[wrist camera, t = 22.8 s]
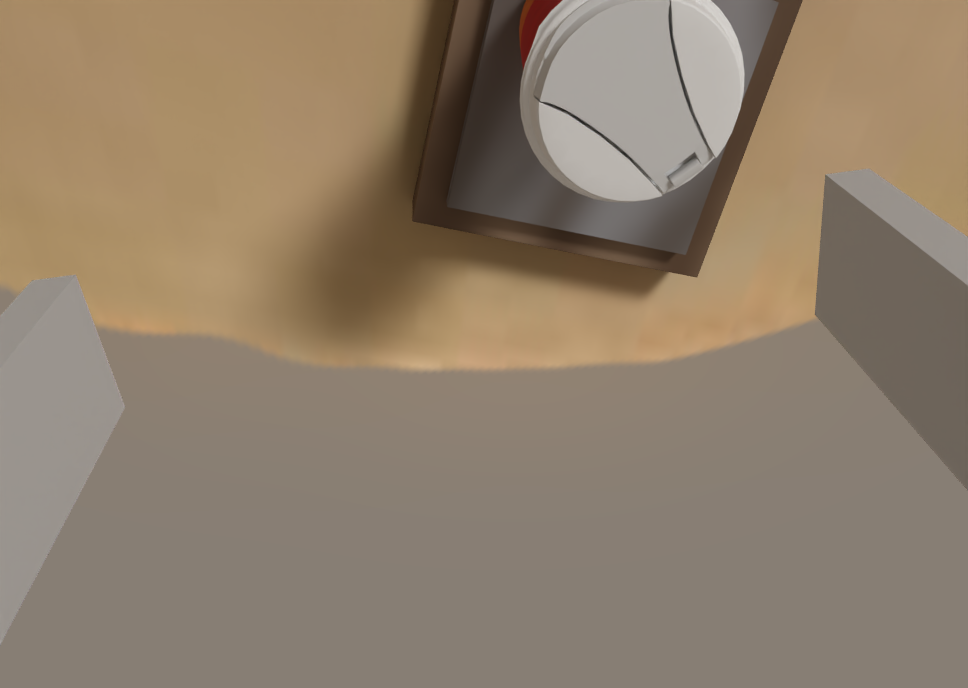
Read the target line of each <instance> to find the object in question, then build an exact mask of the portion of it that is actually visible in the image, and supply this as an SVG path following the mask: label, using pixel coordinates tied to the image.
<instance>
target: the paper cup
mask: <svg viewBox="0 0 968 688" xmlns="http://www.w3.org/2000/svg"><path fill="white" fill-rule="evenodd" d="M519 39H520V50H521V58H522V65H523V75H522V79H521V87H520V110H521V119H522V123H523V127H524V131H525V135H526V137H527V139H528V141H529V144H530V146H531V148H532V150H533V152H534V154H535V155H536V157H537V158H538V160H539V161H540V163H541V164H542V165H543V166H544V168H545V169H546V170H547V171H548V172H549V173H550V174H551V175H552V176H553V177H554V178H555V179H557V180H558V181H559V182H561V183H562V184H563V185H564V186H566V187H568V188H570V189H571V190H573V191H575V192H577V193H579V194H582V195H584V196H587V197H590V198H593V199H597V200H602V201H608V202H636V201H644V200H650V199H654V198H658V197H661V196H662V195H663V194H665V193H667V192H670V191H672V190H674V189H676V188H678V187H680V186H681V185H683V184H685V183H686V182H688V181H690V180H691V179H692V178H693V177H695V176H696V175H697V174H698V173H700V172H701V171H702V170H703V169H704V168H705V167H706V166H707V165H708V164H709V163H710V162H711V161H712V160H713V159H714V158H717V156H718V155H719V154H720V152H721V151H722V149H723V148H724V146H725V145H726V143H727V141H728V139H729V137H730V135H731V133H732V131H733V128H734V126H735V123H736V120H737V117H738V114H739V111H740V108H741V103H742V98H743V93H744V74H745V73H744V64H743V56H742V52H741V49H740V45H739V42H738V38H737V36H736V34H735V32H734V30H733V28H732V26H731V24H730V22H729V21H728V19H727V18H726V17H725V15H724V14H723V13H722V11H721V10H720V8H719V7H718V6H716V5H715V4H714V3H713V2H712V1H711V0H526V2H525V4H524V7H523V9H522V13H521V18H520V26H519Z"/></svg>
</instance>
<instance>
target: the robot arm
mask: <svg viewBox="0 0 968 688" xmlns="http://www.w3.org/2000/svg"><path fill="white" fill-rule="evenodd" d="M815 315H816V316H817V317H818V319H819V320H820V321H821V322H822V323H823V324H824V325H825V327H826V328H827V329H828V330H829V331H830V332H831V334H832V335H833V336H834V337H835V338H836V339H837V340H838V342H839V343H840V344H841V345H842V346H843V347H844V349H845V350H846V351H847V352H848V353H849V354H850V355H851V357H852V358H853V359H854V360H855V361H856V362H857V363H858V365H859V366H860V367H861V368H862V369H863V370H864V372H865V373H866V374H867V375H868V376H869V377H870V378H871V380H872V381H873V382H874V383H875V384H876V385H877V386H878V388H879V389H880V390H881V391H882V392H883V393H884V395H885V396H886V397H887V398H888V399H889V400H890V402H891V403H892V404H893V405H894V406H895V407H896V408H897V410H898V411H899V412H900V413H901V414H902V415H903V416H904V418H905V419H906V420H907V421H908V422H909V423H910V424H911V426H912V427H913V428H914V429H915V430H916V431H917V433H918V434H919V435H920V436H921V437H922V438H923V439H924V441H925V442H926V443H927V444H928V445H929V446H930V448H931V449H932V450H933V451H934V452H935V453H936V454H937V455H938V457H939V458H940V459H941V460H942V461H943V462H944V464H945V465H946V466H947V467H948V468H949V469H950V471H951V472H952V473H953V474H954V475H955V476H956V477H957V479H958V480H959V481H960V482H961V483H962V484H963V485H964V487H965V488H966V489H967V490H968V237H967V236H966V235H964V234H963V233H961V232H960V231H958V230H957V229H955V228H954V227H953V226H951V225H950V224H948V223H947V222H945V221H944V220H942V219H941V218H940V217H938V216H937V215H935V214H934V213H932V212H931V211H929V210H928V209H927V208H925V207H924V206H922V205H921V204H919V203H918V202H916V201H915V200H914V199H912V198H911V197H909V196H908V195H906V194H905V193H903V192H902V191H901V190H899V189H898V188H896V187H895V186H893V185H892V184H890V183H889V182H888V181H886V180H885V179H883V178H882V177H880V176H879V175H877V174H876V173H875V172H873V171H872V170H870V169H863V170H855V171H848V172H840V173H833V174H825V187H824V200H823V213H822V226H821V240H820V253H819V266H818V280H817V293H816V306H815ZM124 408H125V405H124V403H123V400H122V397H121V395H120V392H119V389H118V386H117V384H116V381H115V378H114V376H113V373H112V370H111V368H110V365H109V362H108V360H107V357H106V354H105V352H104V349H103V346H102V344H101V341H100V339H99V336H98V333H97V330H96V328H95V325H94V322H93V320H92V317H91V314H90V312H89V309H88V306H87V304H86V301H85V298H84V295H83V293H82V290H81V287H80V285H79V282H78V279H77V277H76V275H70V276H62V277H55V278H47V279H40V280H32V281H31V282H30V283H29V284H28V285H27V287H26V288H25V289H24V290H23V291H22V292H21V293H20V294H19V295H18V297H17V298H16V299H15V300H14V301H13V302H12V303H11V304H10V306H9V307H8V308H7V309H6V310H5V311H4V312H3V313H2V314H1V315H0V645H1V643H2V641H3V639H4V637H5V635H6V633H7V631H8V629H9V627H10V625H11V624H12V622H13V620H14V618H15V616H16V614H17V612H18V610H19V609H20V607H21V605H22V603H23V601H24V599H25V597H26V595H27V593H28V591H29V589H30V587H31V586H32V584H33V582H34V580H35V578H36V576H37V574H38V572H39V570H40V568H41V566H42V565H43V563H44V561H45V559H46V557H47V555H48V553H49V551H50V549H51V548H52V546H53V544H54V542H55V540H56V538H57V536H58V534H59V532H60V530H61V528H62V527H63V524H64V523H65V521H66V519H67V517H68V515H69V513H70V511H71V509H72V507H73V506H74V504H75V502H76V500H77V498H78V496H79V494H80V492H81V490H82V488H83V486H84V485H85V483H86V481H87V479H88V477H89V475H90V473H91V471H92V469H93V467H94V466H95V464H96V462H97V460H98V458H99V456H100V454H101V452H102V450H103V448H104V446H105V445H106V443H107V441H108V439H109V437H110V435H111V433H112V431H113V429H114V427H115V426H116V423H117V421H118V420H119V418H120V416H121V414H122V412H123V410H124Z"/></svg>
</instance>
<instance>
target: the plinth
mask: <svg viewBox="0 0 968 688" xmlns="http://www.w3.org/2000/svg"><path fill="white" fill-rule="evenodd" d="M711 1H712V2H713V3H714V4H715V5H716V6H718V7H719V8H720V10H721V11H722V13H723V14H724V15H725V17H726V18H727V19H728V21H729V22H730V24H731V26H732V28H733V30H734V32H735V34H736V36H737V38H738V42H739V45H740V49H741V52H742V56H743V64H744V73H745V74H744V93H743V98H742V103H741V108H740V111H739V114H738V117H737V120H736V123H735V126H734V128H733V131H732V133H731V135H730V137H729V139H728V141H727V143H726V145H725V146H724V148H723V149H722V151H721V152H720V154H719V155H718V156H717V158H714V159H713V160H712V161H711V162H710V163H709V164H708V165H707V166H706V167H705V168H704V169H703V170H702V171H701V172H700V173H698V174H697V175H696V176H695V177H693V178H692V179H691V180H690V181H688V182H686V183H685V184H683V185H681V186H680V187H678V188H676V189H674V190H672V191H670V192H667V193H665V194H663V195H662V196H661V197H658V198H654V199H650V200H644V201H636V202H608V201H602V200H597V199H593V198H590V197H587V196H584V195H582V194H579V193H577V192H575V191H573V190H571V189H570V188H568V187H566V186H564V185H563V184H562V183H561V182H559V181H558V180H557V179H555V178H554V177H553V176H552V175H551V174H550V173H549V172H548V171H547V170H546V169H545V168H544V166H543V165H542V164H541V163H540V161H539V160H538V158H537V157H536V155H535V154H534V152H533V150H532V148H531V146H530V144H529V141H528V139H527V137H526V135H525V131H524V127H523V123H522V119H521V110H520V87H521V79H522V75H523V65H522V58H521V50H520V39H519V26H520V18H521V13H522V9H523V7H524V4H525V2H526V0H455V1H454V6H453V11H452V15H451V20H450V25H449V30H448V35H447V39H446V44H445V49H444V54H443V58H442V63H441V68H440V73H439V78H438V82H437V87H436V92H435V97H434V102H433V106H432V111H431V116H430V121H429V126H428V130H427V135H426V140H425V145H424V150H423V154H422V159H421V164H420V169H419V174H418V178H417V183H416V188H415V193H414V198H413V221H414V222H419V223H424V224H429V225H434V226H439V227H444V228H449V229H454V230H459V231H464V232H469V233H474V234H479V235H484V236H490V237H495V238H500V239H505V240H510V241H515V242H520V243H525V244H530V245H535V246H540V247H545V248H550V249H555V250H560V251H566V252H571V253H576V254H581V255H586V256H591V257H596V258H601V259H606V260H611V261H616V262H621V263H626V264H631V265H636V266H641V267H647V268H652V269H657V270H662V271H667V272H672V273H677V274H682V275H687V276H692V277H697V276H698V274H699V271H700V269H701V266H702V263H703V261H704V258H705V255H706V253H707V250H708V247H709V245H710V242H711V240H712V237H713V234H714V232H715V229H716V226H717V224H718V221H719V219H720V216H721V213H722V211H723V208H724V205H725V203H726V200H727V198H728V195H729V192H730V190H731V187H732V184H733V182H734V179H735V177H736V174H737V171H738V169H739V166H740V163H741V161H742V158H743V156H744V153H745V150H746V148H747V145H748V142H749V140H750V137H751V134H752V132H753V129H754V127H755V124H756V121H757V119H758V116H759V113H760V111H761V108H762V106H763V103H764V100H765V98H766V95H767V92H768V90H769V87H770V85H771V82H772V79H773V77H774V74H775V71H776V69H777V66H778V64H779V61H780V58H781V56H782V53H783V50H784V48H785V45H786V43H787V40H788V37H789V35H790V32H791V29H792V27H793V24H794V22H795V19H796V16H797V14H798V11H799V8H800V6H801V3H802V0H711Z"/></svg>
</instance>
